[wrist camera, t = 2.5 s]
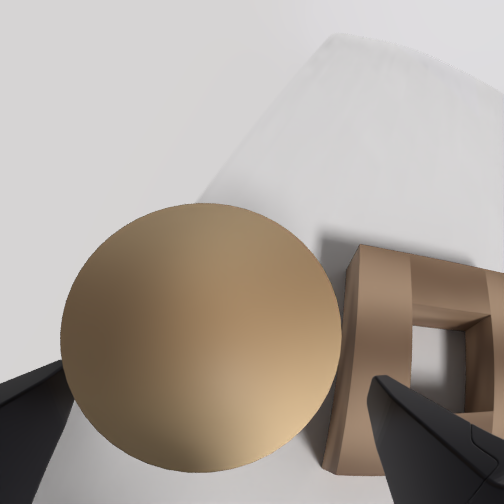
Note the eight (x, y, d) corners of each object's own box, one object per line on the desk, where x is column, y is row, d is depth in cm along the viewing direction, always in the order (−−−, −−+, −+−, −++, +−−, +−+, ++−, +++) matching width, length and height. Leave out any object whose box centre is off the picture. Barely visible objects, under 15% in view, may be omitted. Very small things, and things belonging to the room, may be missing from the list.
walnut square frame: (492, 458, 13) (522, 456, 10) (321, 467, 14) (336, 475, 11) (492, 294, 19) (515, 275, 16) (346, 270, 20) (359, 244, 17)
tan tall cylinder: (281, 433, 15) (370, 440, 4) (196, 444, 14) (65, 468, 3) (267, 355, 17) (303, 190, 6) (187, 366, 17) (74, 222, 6)
